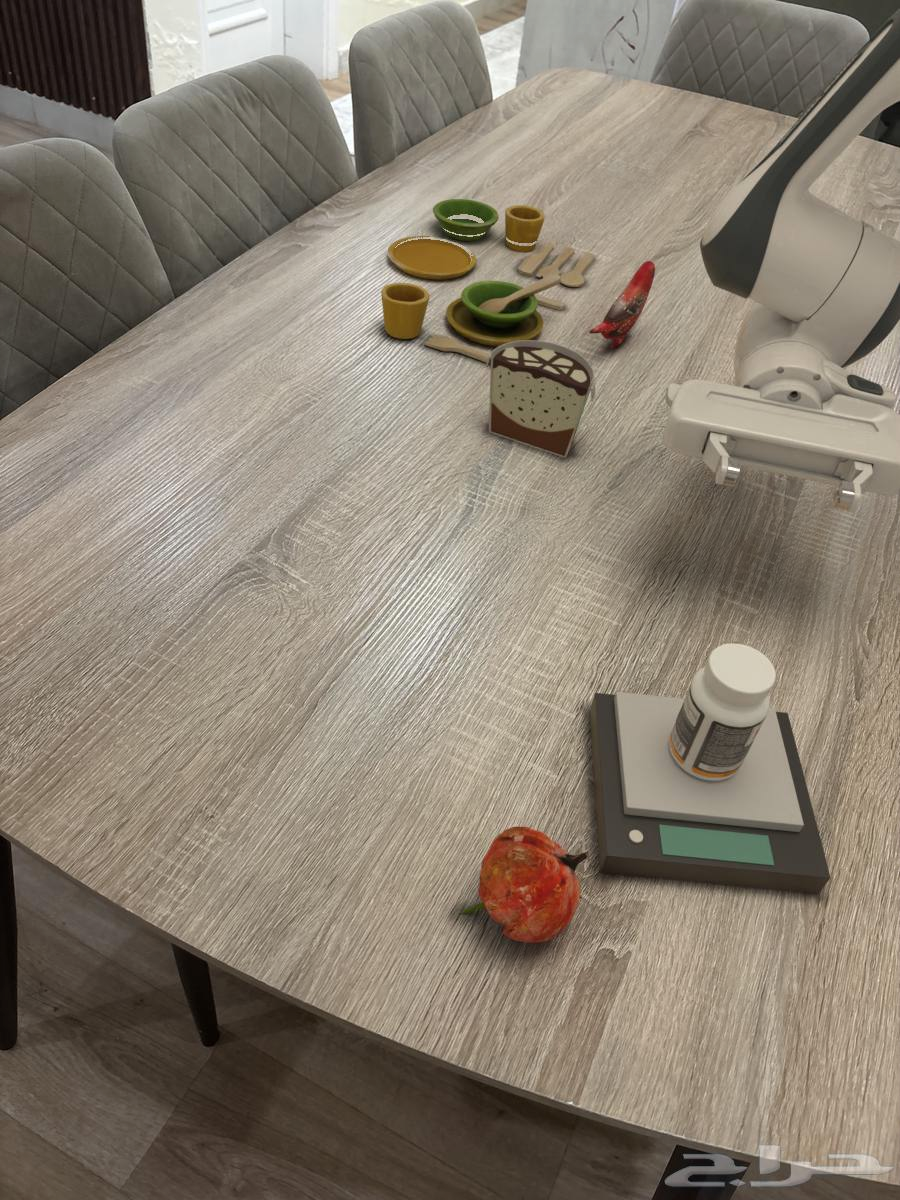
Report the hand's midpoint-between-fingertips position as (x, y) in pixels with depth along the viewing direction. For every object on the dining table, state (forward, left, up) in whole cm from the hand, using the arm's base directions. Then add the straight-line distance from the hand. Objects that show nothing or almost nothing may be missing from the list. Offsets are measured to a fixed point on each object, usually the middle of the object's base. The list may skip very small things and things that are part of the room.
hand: (787, 491), depth 74 cm
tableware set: (+26, -65, -17) cm, 72 cm away
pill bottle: (+5, +16, -14) cm, 22 cm away
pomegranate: (+19, +29, -17) cm, 38 cm away
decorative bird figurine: (+7, -51, -17) cm, 55 cm away
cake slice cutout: (+17, -30, -17) cm, 39 cm away
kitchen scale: (+5, +18, -17) cm, 25 cm away
